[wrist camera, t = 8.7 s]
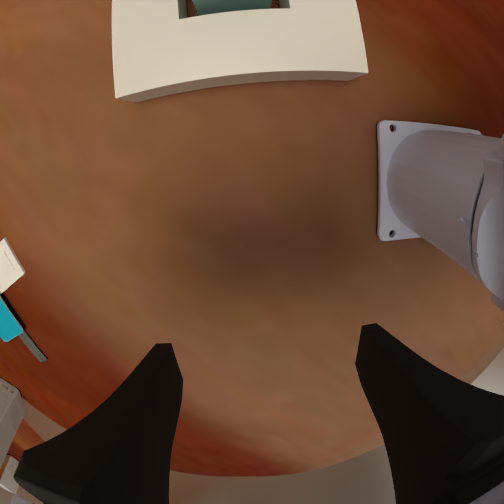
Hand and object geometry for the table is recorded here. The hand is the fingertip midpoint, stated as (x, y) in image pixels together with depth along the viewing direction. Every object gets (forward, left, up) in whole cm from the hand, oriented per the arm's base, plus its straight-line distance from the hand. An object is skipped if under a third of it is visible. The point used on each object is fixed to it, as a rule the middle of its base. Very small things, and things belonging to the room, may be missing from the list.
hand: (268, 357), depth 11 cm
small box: (+70, +53, -10) cm, 88 cm away
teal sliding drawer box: (+26, 0, -10) cm, 28 cm away
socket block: (0, -17, -9) cm, 20 cm away
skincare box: (+36, +18, -10) cm, 41 cm away
